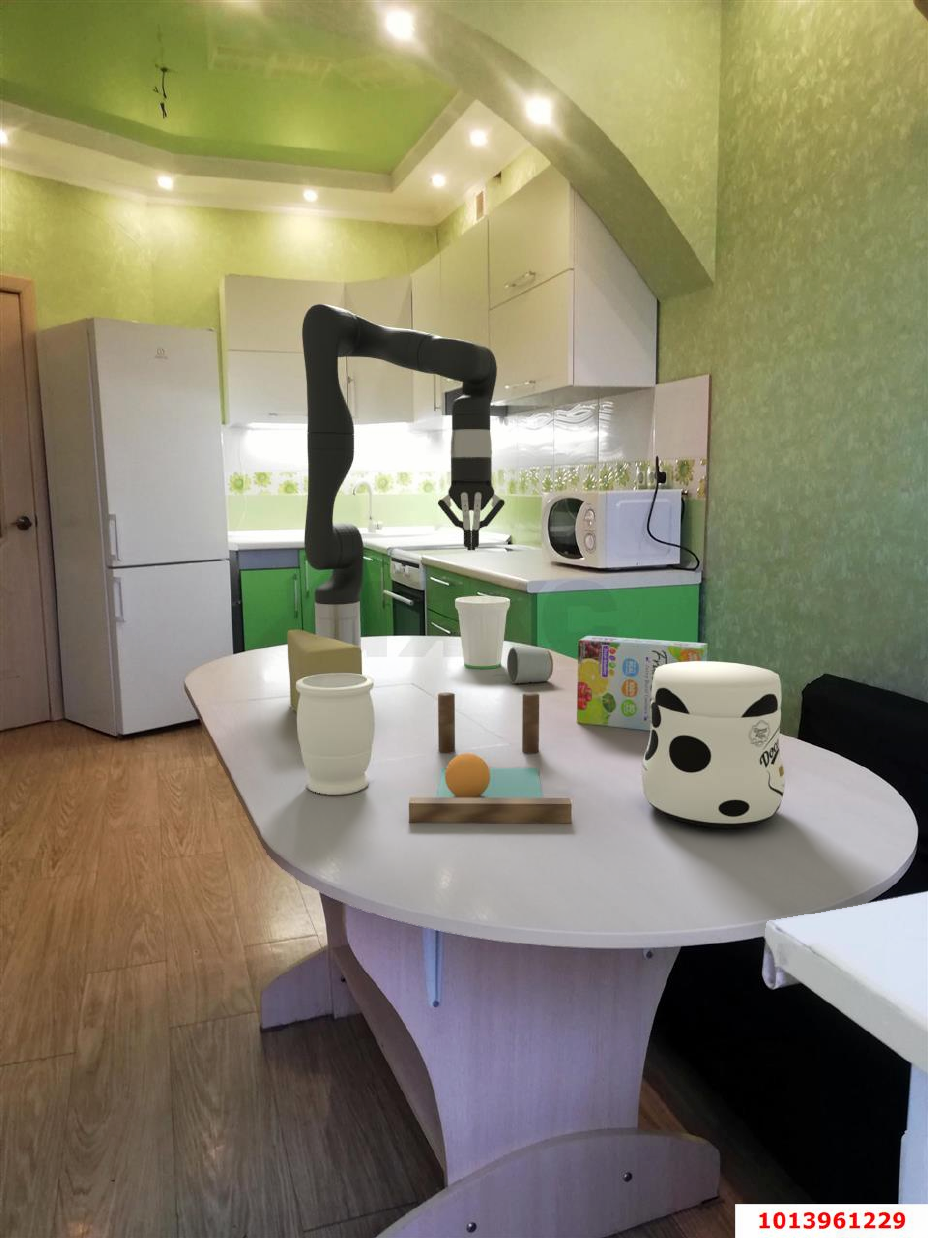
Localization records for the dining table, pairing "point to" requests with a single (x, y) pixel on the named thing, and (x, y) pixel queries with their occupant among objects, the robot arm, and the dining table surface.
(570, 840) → the dining table surface
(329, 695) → the jar
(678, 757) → the spotted treat canister
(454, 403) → the robot arm
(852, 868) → the dining table surface
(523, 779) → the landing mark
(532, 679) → the ceramic mug
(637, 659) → the snack box
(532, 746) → the right post
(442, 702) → the left post
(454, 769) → the ball
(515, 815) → the rail
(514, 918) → the dining table surface
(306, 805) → the dining table surface
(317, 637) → the cheese
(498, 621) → the cup
